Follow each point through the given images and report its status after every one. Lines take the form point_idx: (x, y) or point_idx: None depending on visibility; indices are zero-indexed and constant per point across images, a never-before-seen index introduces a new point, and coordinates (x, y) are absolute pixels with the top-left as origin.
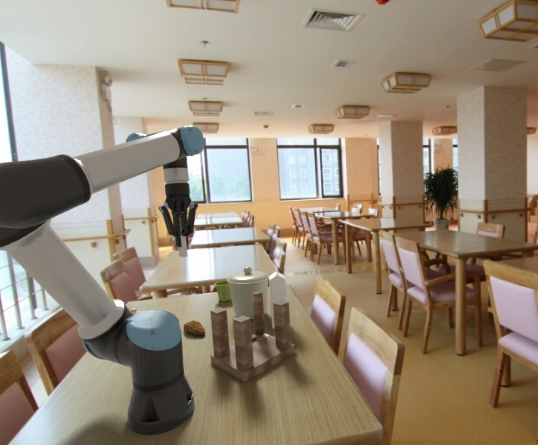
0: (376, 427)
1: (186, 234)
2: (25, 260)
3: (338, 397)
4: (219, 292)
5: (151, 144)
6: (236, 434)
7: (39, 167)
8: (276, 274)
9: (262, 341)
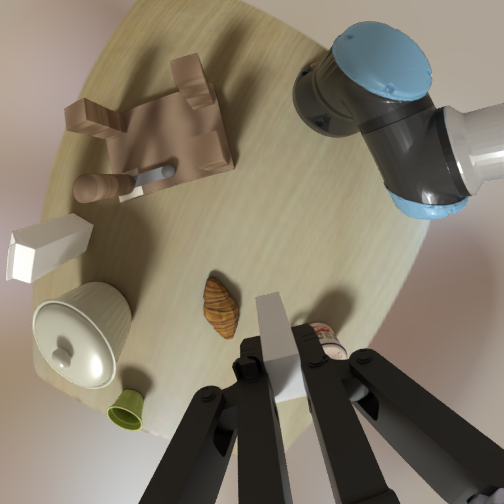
0: None
1: (262, 360)
2: None
3: (142, 18)
4: (138, 407)
5: None
6: (268, 20)
7: None
8: (15, 250)
9: (134, 161)
